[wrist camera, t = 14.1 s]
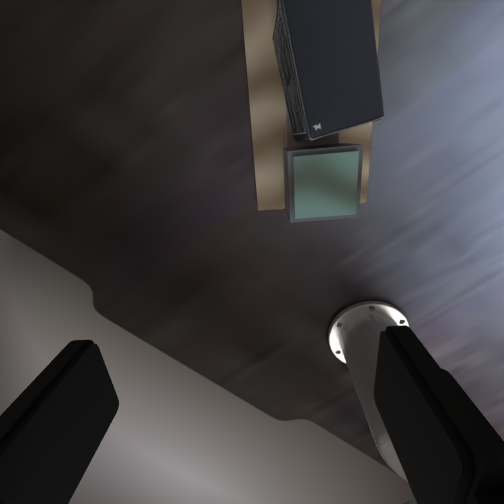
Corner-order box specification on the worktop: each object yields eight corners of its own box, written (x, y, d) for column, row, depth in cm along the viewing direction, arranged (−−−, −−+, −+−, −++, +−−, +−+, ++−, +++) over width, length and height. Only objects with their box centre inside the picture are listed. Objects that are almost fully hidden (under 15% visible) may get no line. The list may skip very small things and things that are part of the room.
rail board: (362, 200, 37) (395, 220, 28) (258, 208, 38) (256, 230, 29) (382, -93, 26) (445, -215, 17) (236, -71, 27) (222, -176, 18)
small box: (350, 124, 31) (389, 119, 22) (294, 142, 32) (307, 144, 23) (333, 12, 27) (372, -56, 18) (270, 35, 28) (274, -16, 19)
